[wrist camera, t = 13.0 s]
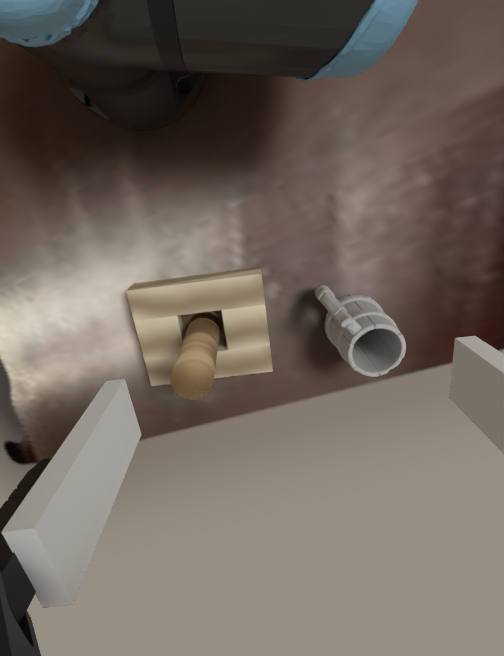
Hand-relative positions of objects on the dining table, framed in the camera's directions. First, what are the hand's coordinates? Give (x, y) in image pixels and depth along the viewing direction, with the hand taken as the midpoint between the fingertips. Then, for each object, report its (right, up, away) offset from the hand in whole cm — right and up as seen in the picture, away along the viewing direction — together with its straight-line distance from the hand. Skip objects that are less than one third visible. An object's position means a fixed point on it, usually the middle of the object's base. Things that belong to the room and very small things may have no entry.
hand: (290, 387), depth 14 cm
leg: (-8, +3, +32) cm, 33 cm away
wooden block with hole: (-8, +3, +33) cm, 34 cm away
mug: (+10, +5, +33) cm, 35 cm away
